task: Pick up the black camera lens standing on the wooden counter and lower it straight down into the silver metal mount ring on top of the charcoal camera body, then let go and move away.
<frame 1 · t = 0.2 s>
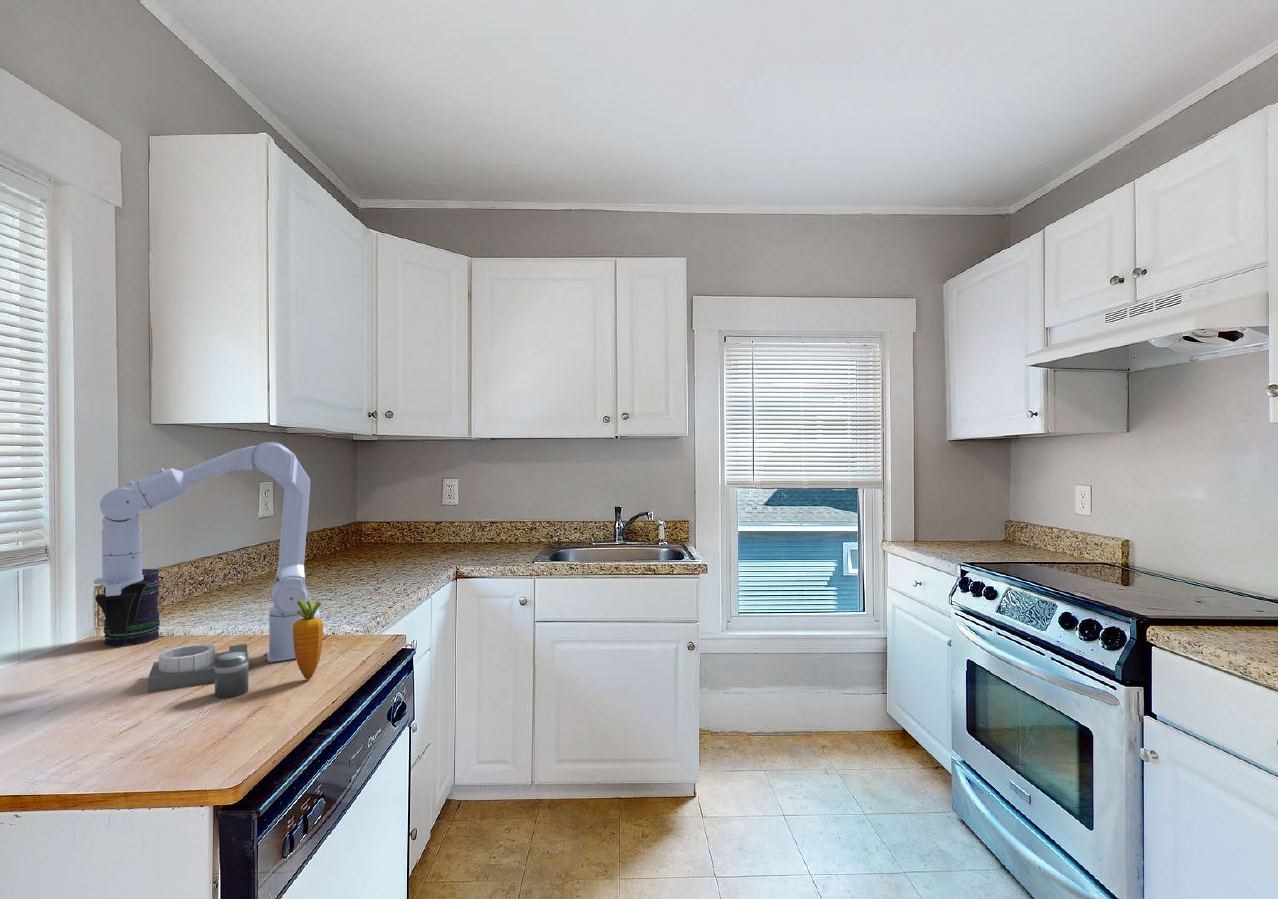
hand: (123, 627, 119), 10 cm above the countertop, tool pointing down, fingers open, 7 cm apart
carrot: (308, 680, 120), on the countertop
lens: (231, 693, 114), on the countertop
camera body: (200, 675, 122), on the countertop
storage jar: (132, 641, 144), on the countertop
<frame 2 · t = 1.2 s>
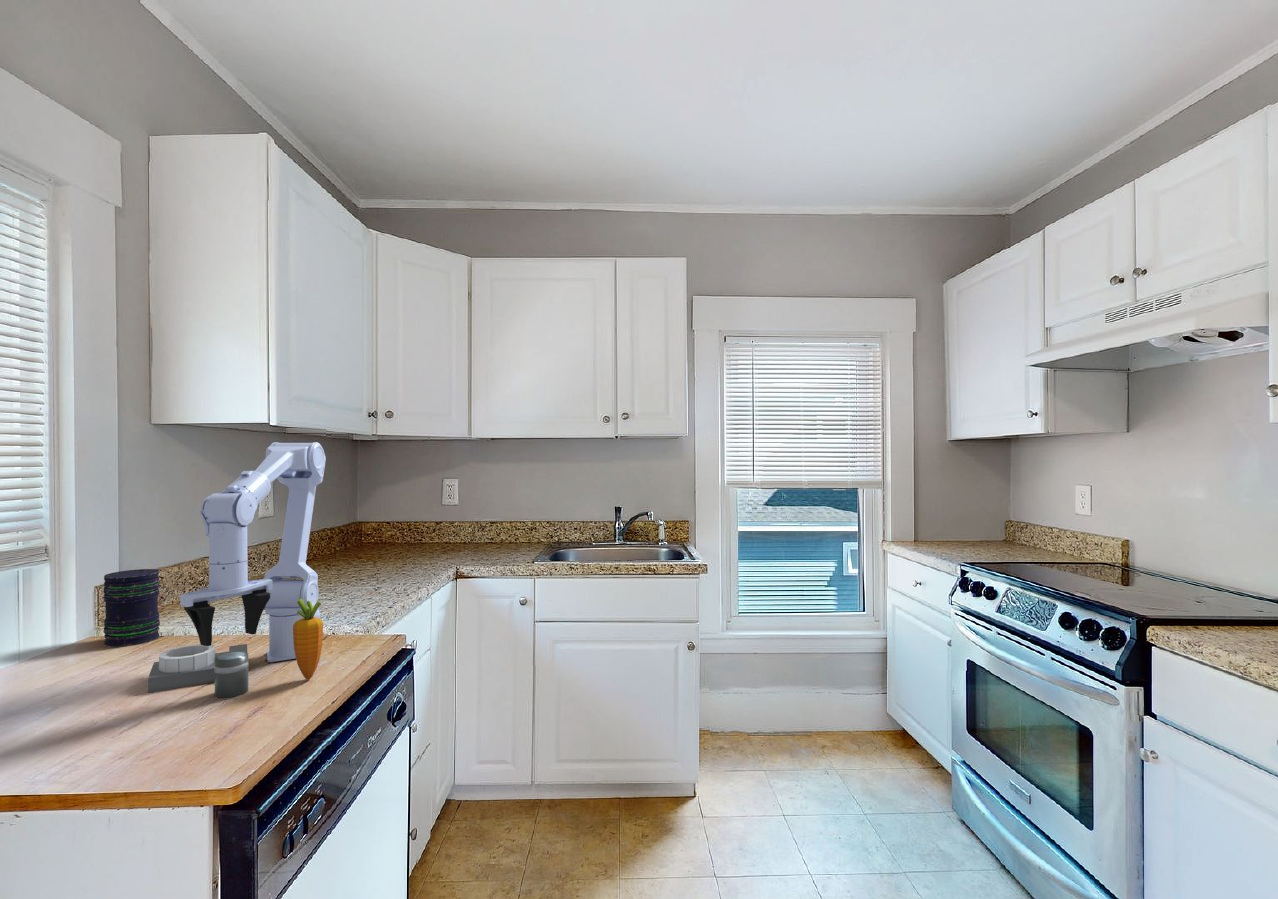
hand: (229, 639, 114), 9 cm above the countertop, tool pointing down, fingers open, 7 cm apart
nothing on the countertop moved.
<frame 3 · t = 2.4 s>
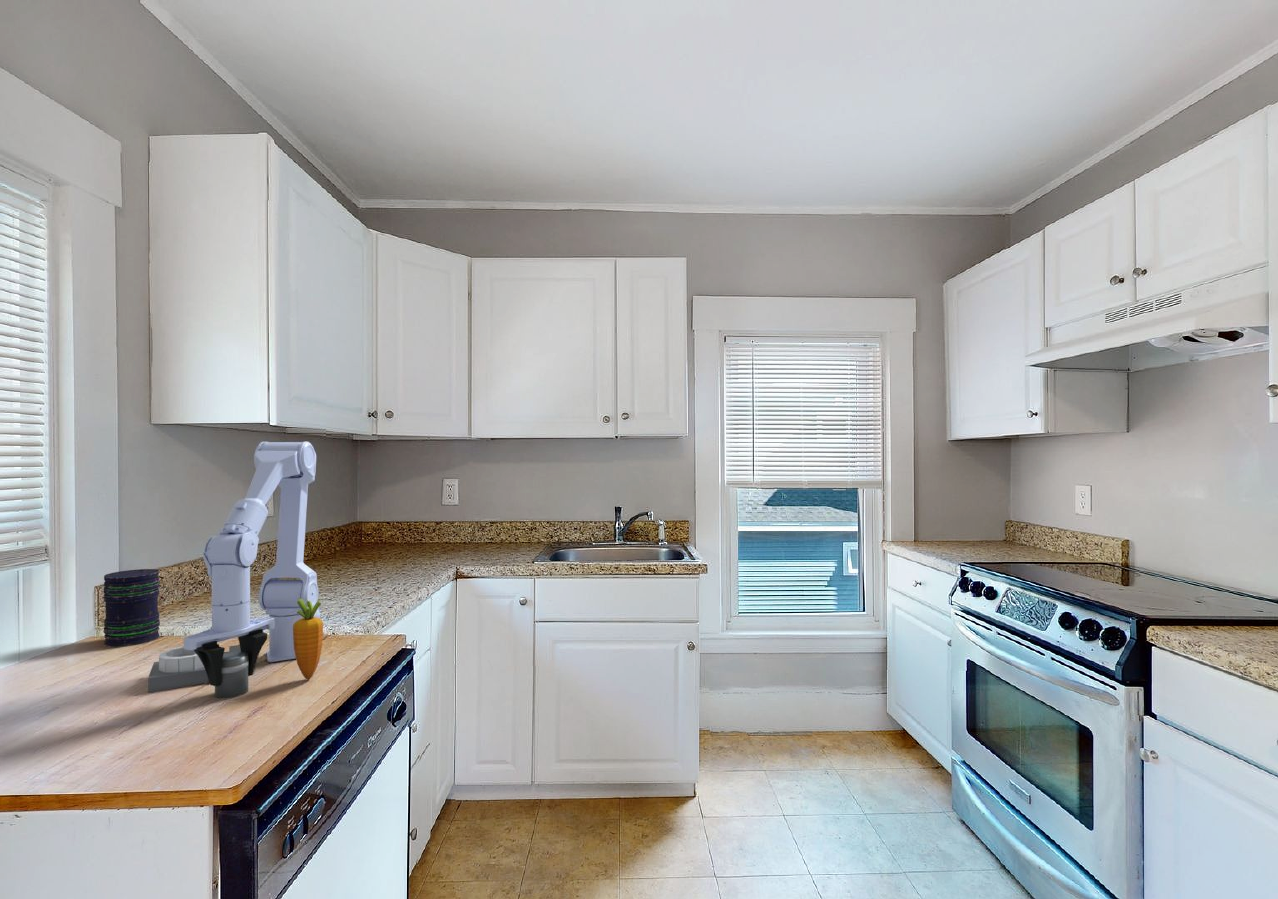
hand: (231, 679, 114), 2 cm above the countertop, tool pointing down, fingers closed on lens, 5 cm apart
lens: (231, 693, 114), on the countertop, touching gripper
everything else where it was.
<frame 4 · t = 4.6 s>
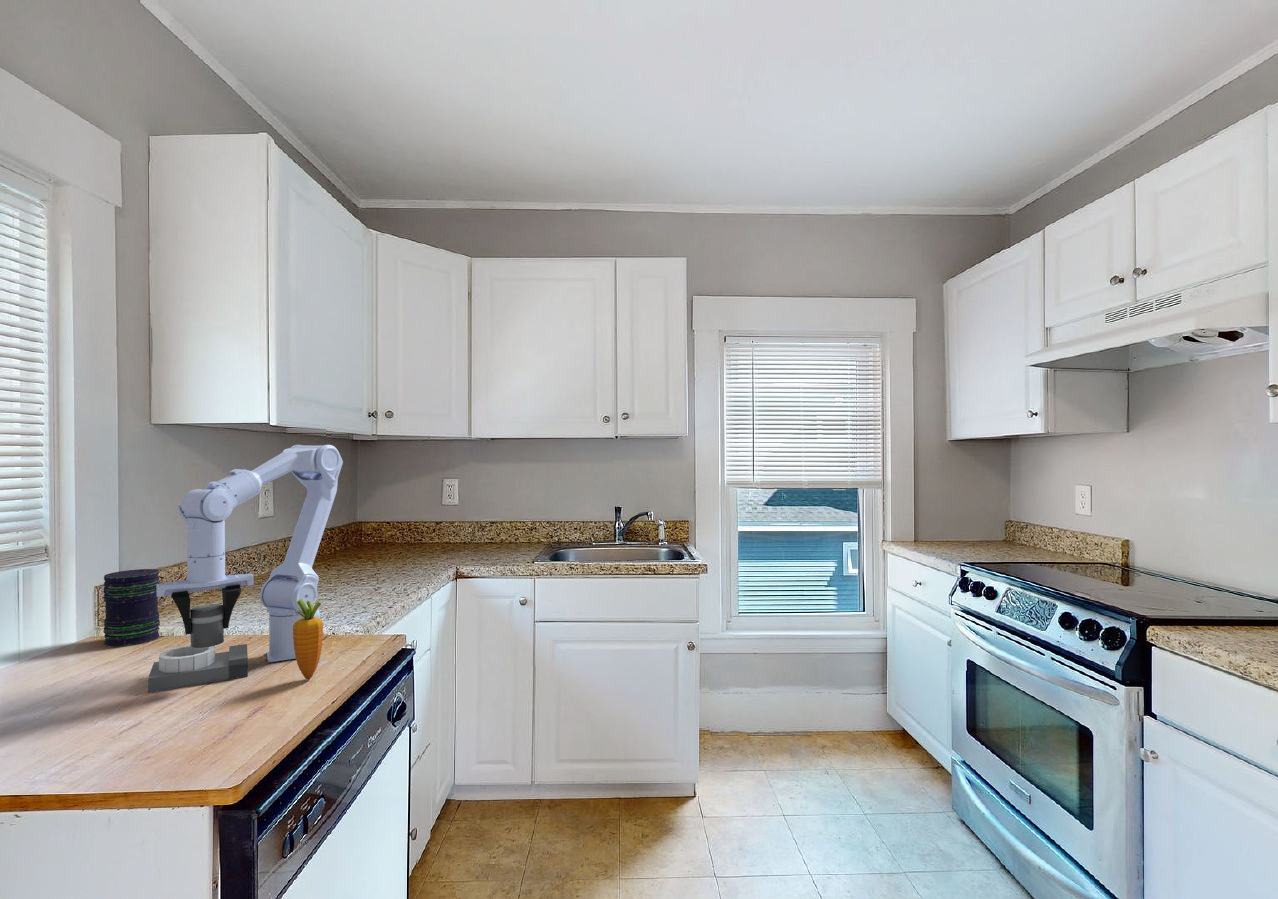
hand: (207, 630, 118), 10 cm above the countertop, tool pointing down, fingers closed on lens, 5 cm apart
lens: (207, 643, 117), point 7 cm above the countertop, touching gripper
everything else where it was.
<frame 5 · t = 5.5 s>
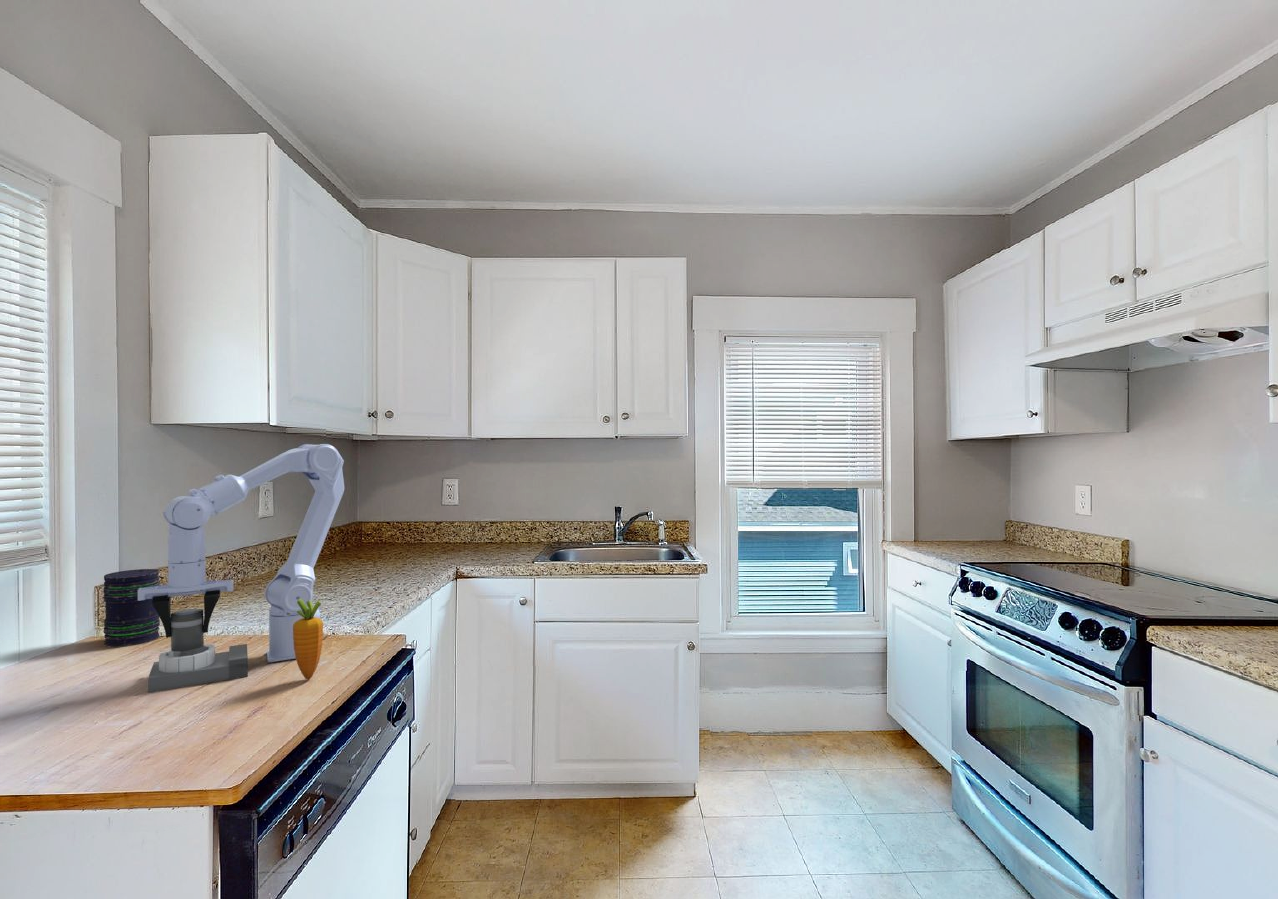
hand: (187, 633, 121), 8 cm above the countertop, tool pointing down, fingers closed on lens, 5 cm apart
lens: (187, 647, 121), point 6 cm above the countertop, touching gripper
everything else where it was.
when the fingers open (6 cm above the countertop, at t = 6.5 s): lens stays where it is, resting on camera body.
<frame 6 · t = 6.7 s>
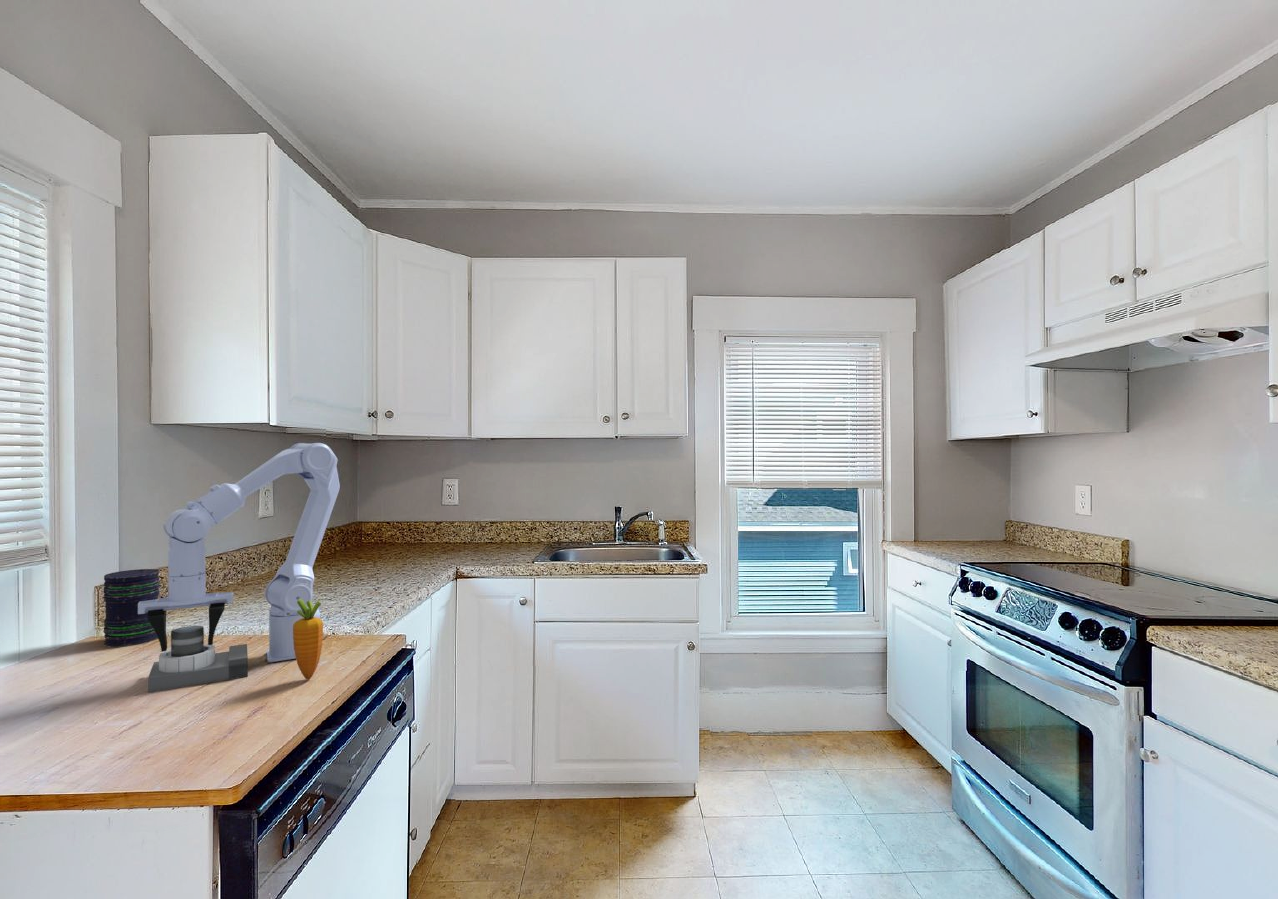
hand: (187, 646, 121), 6 cm above the countertop, tool pointing down, fingers open, 6 cm apart
lens: (187, 664, 121), point 3 cm above the countertop, touching camera body
everything else where it was.
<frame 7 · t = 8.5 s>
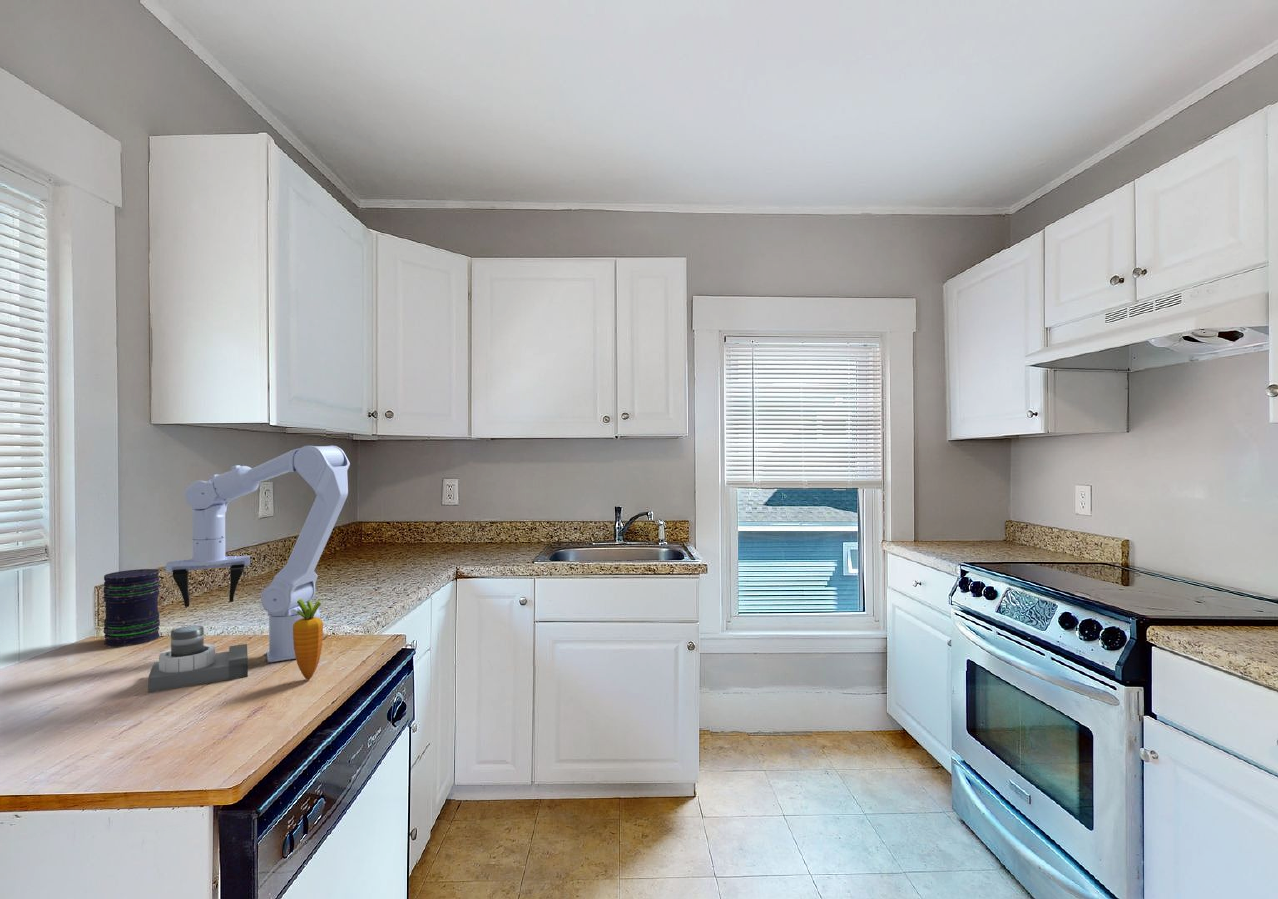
hand: (209, 603, 135), 10 cm above the countertop, tool pointing down, fingers open, 7 cm apart
nothing on the countertop moved.
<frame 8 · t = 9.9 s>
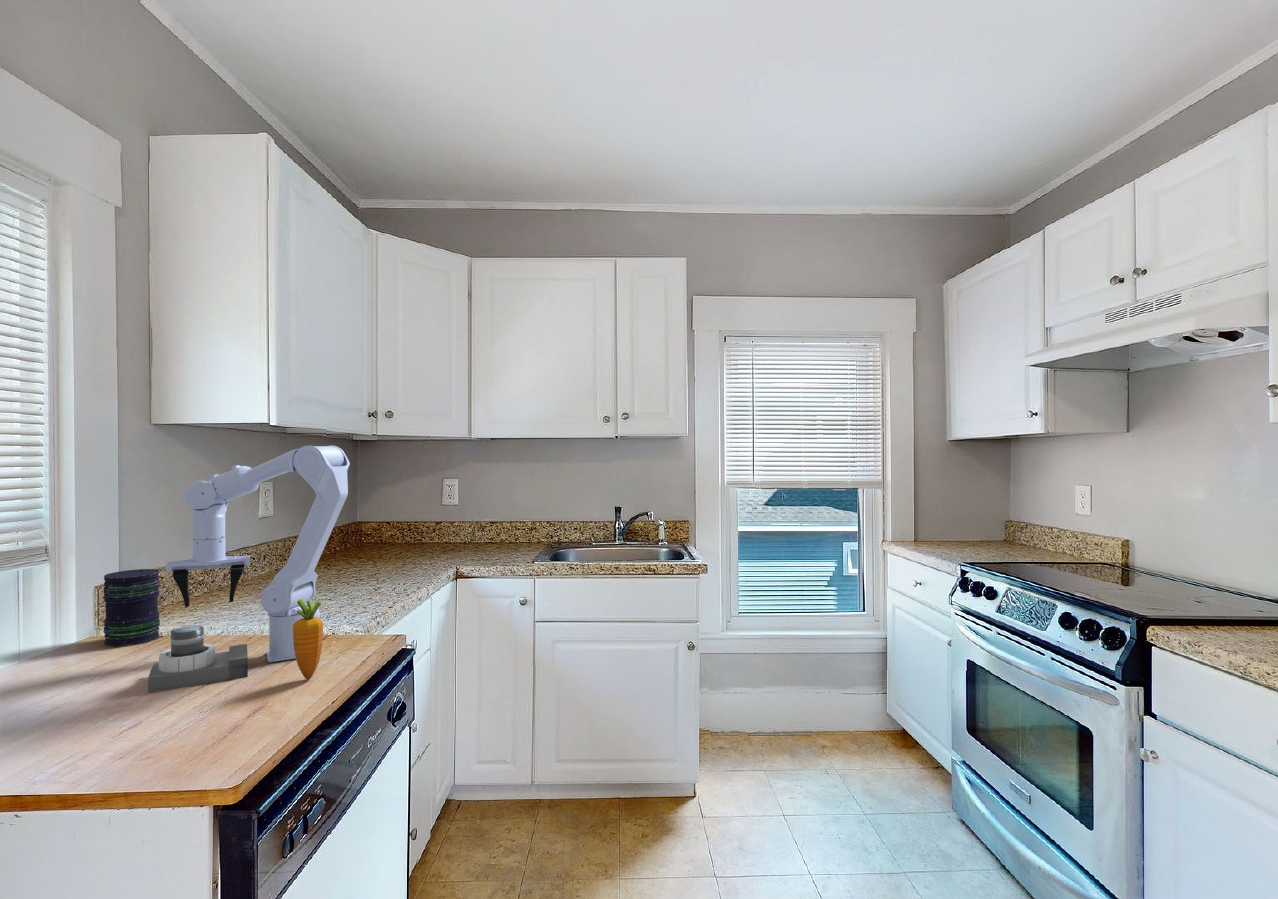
hand: (209, 603, 135), 10 cm above the countertop, tool pointing down, fingers open, 7 cm apart
nothing on the countertop moved.
at the end: lens 0.3 cm from the target spot on the camera body, point 2.6 cm above the camera body's base; lens tilted 0°; the gripper is holding nothing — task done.
